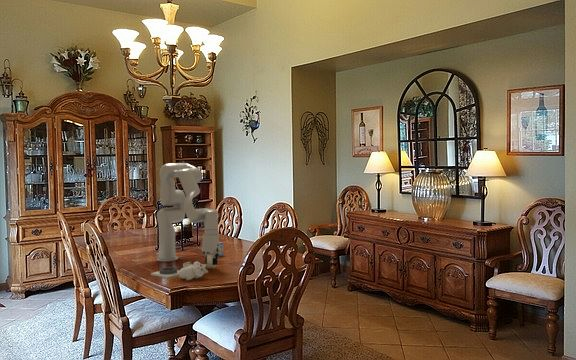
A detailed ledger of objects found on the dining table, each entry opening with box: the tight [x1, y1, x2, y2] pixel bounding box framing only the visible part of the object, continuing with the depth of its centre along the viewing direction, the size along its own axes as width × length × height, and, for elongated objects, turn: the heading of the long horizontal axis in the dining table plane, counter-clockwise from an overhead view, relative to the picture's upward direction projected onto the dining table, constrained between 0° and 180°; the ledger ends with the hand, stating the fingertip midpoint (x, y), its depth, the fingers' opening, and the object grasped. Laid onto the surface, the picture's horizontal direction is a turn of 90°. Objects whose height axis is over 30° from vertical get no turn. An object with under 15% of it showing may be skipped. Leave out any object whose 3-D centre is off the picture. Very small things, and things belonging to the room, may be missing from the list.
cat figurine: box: [178, 261, 209, 282], centre depth 265 cm, size 10×8×15 cm
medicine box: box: [217, 241, 224, 258], centre depth 321 cm, size 8×4×9 cm, turn 126°
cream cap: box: [206, 252, 217, 268], centre depth 286 cm, size 5×5×7 cm
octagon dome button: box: [150, 266, 181, 279], centre depth 275 cm, size 13×13×3 cm
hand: (211, 263), depth 287 cm, fingers closed on cream cap, 4 cm apart
